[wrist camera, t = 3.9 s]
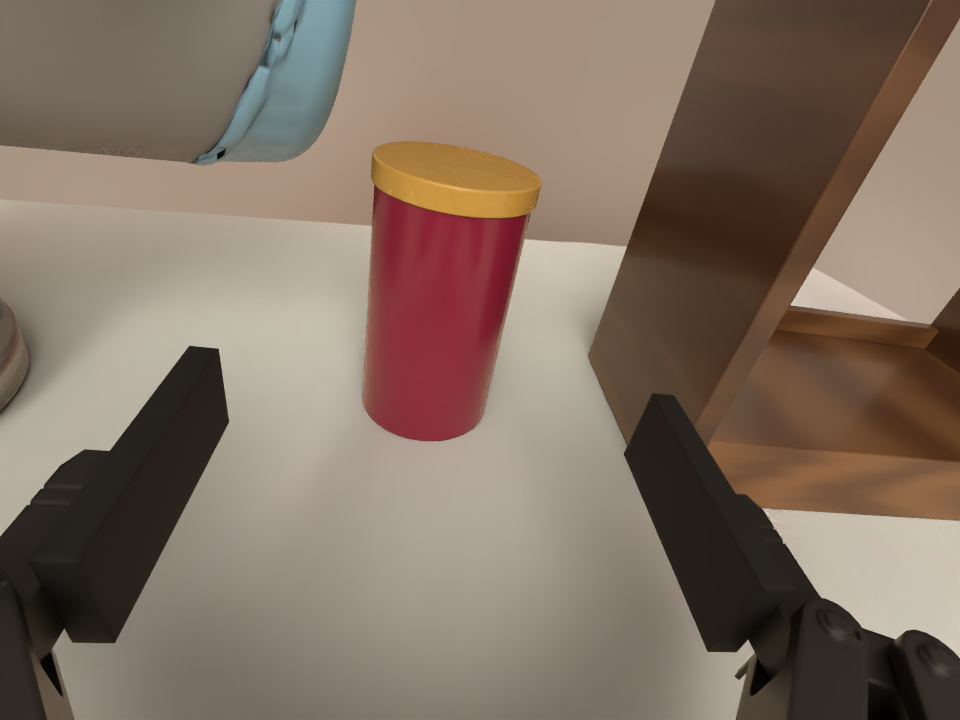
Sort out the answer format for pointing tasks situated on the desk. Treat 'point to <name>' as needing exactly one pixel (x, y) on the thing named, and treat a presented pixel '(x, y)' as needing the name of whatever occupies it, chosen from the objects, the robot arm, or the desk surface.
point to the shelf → (787, 267)
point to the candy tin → (440, 282)
